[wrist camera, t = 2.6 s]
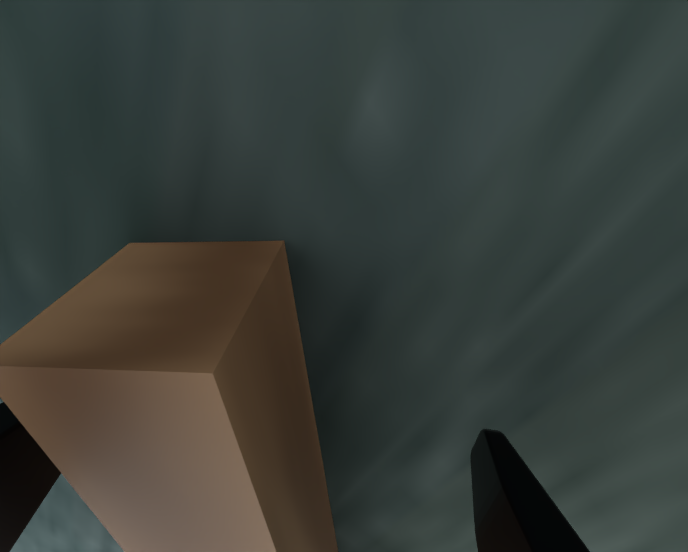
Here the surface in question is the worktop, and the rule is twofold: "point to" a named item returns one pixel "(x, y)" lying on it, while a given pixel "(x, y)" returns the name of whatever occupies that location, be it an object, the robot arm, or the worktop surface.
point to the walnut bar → (179, 399)
